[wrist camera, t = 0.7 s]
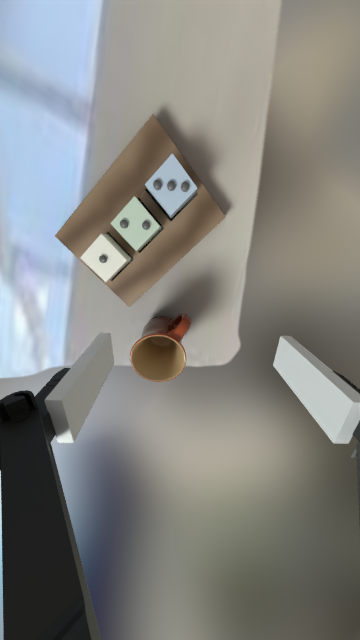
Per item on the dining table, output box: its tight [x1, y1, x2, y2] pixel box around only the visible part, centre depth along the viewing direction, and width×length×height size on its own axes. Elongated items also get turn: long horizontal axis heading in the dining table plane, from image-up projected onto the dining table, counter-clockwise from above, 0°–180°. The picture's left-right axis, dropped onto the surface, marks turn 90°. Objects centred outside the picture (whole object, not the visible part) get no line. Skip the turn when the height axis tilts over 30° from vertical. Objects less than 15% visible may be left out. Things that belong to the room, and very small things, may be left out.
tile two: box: [110, 196, 161, 251], centre depth 29 cm, size 5×5×4 cm
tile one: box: [80, 234, 131, 282], centre depth 30 cm, size 5×5×4 cm
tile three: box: [145, 153, 197, 218], centre depth 27 cm, size 5×5×4 cm
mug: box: [130, 313, 191, 382], centre depth 34 cm, size 12×9×10 cm
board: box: [55, 115, 225, 307], centre depth 31 cm, size 16×22×2 cm
